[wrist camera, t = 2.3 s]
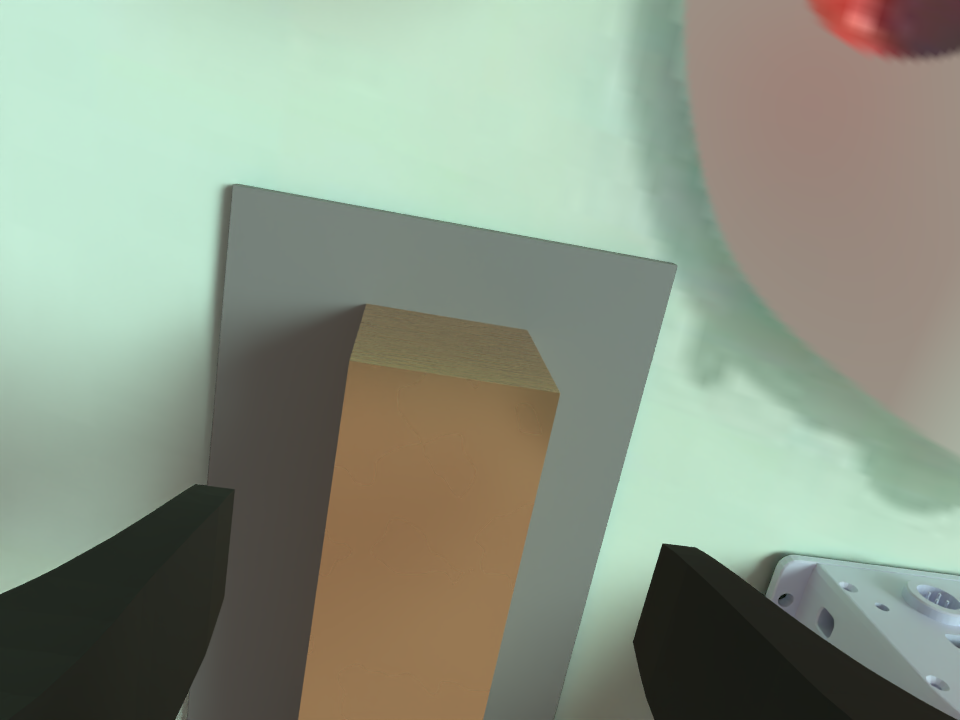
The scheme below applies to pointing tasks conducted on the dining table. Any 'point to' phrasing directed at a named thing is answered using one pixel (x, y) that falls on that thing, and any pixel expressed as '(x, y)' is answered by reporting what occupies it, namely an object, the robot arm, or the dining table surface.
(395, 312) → the striped wooden beam
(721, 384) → the dining table surface
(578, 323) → the mat
